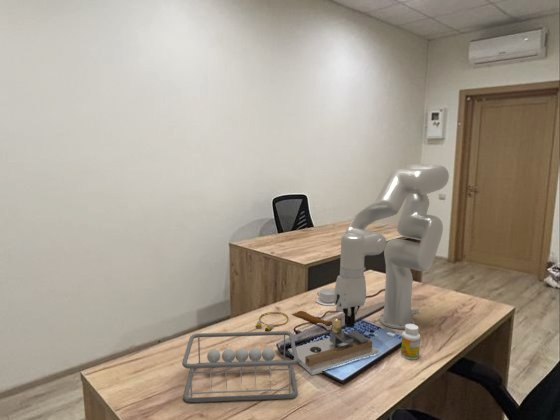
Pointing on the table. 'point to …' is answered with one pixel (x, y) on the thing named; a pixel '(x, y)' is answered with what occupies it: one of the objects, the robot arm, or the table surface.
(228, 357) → the newton's cradle
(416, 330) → the supplement bottle
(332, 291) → the teacup
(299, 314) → the primitive tool
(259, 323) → the extension cord
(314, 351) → the bolt plate
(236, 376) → the table surface
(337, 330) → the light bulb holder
